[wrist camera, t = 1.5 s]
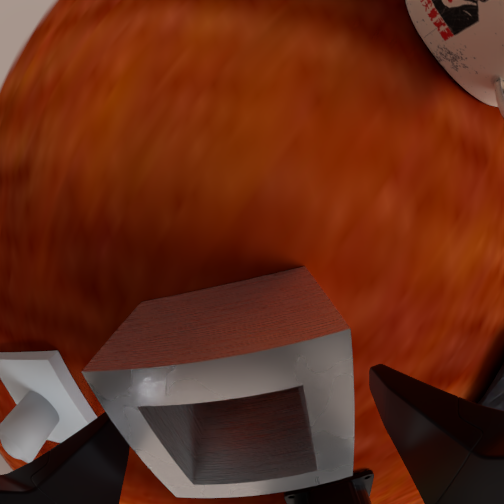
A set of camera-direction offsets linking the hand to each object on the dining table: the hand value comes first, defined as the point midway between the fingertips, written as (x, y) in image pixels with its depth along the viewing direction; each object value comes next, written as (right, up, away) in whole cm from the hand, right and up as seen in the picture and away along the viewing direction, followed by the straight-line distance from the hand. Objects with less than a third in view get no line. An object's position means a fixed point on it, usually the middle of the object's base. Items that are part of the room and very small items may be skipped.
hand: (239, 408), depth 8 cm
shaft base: (-12, -4, +4) cm, 13 cm away
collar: (0, +1, +3) cm, 3 cm away
